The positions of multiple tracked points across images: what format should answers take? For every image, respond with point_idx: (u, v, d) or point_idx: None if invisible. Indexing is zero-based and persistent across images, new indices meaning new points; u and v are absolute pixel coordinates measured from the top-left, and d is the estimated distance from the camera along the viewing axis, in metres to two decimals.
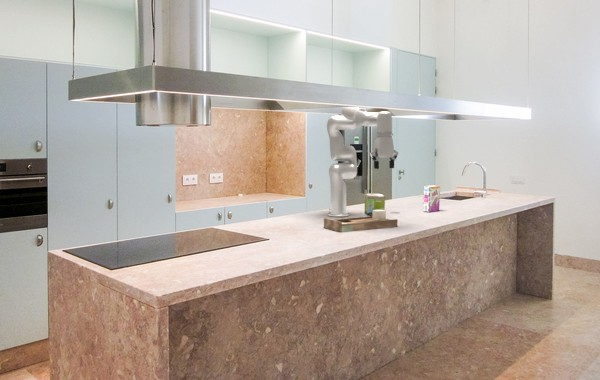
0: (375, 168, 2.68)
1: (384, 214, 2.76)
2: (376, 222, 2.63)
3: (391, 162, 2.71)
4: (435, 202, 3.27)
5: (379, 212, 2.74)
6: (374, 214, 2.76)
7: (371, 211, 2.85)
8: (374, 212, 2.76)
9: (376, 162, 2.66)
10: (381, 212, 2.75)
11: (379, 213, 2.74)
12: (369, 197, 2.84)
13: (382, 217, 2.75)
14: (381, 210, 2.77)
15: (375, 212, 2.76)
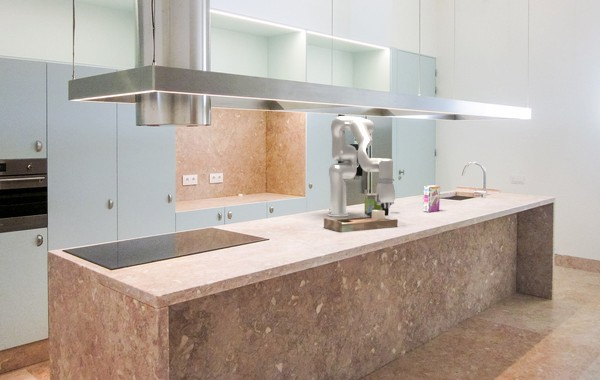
0: None
1: (383, 214, 2.75)
2: (376, 222, 2.63)
3: None
4: (435, 202, 3.27)
5: (378, 212, 2.74)
6: (374, 214, 2.76)
7: (371, 211, 2.85)
8: (373, 212, 2.76)
9: (384, 209, 2.77)
10: (380, 212, 2.74)
11: (378, 213, 2.74)
12: (369, 197, 2.84)
13: (381, 217, 2.75)
14: (380, 210, 2.76)
15: (374, 212, 2.75)
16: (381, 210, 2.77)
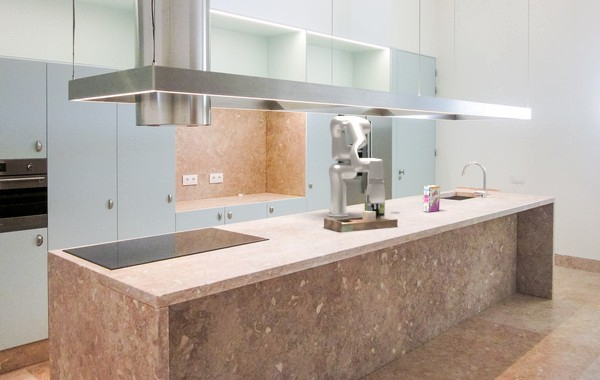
0: None
1: (374, 215, 2.72)
2: (376, 222, 2.63)
3: None
4: (435, 202, 3.27)
5: (369, 213, 2.70)
6: (364, 215, 2.72)
7: None
8: (364, 213, 2.73)
9: (375, 210, 2.75)
10: (371, 213, 2.71)
11: (369, 214, 2.70)
12: None
13: (372, 218, 2.72)
14: (371, 211, 2.73)
15: (365, 213, 2.72)
16: (372, 211, 2.73)
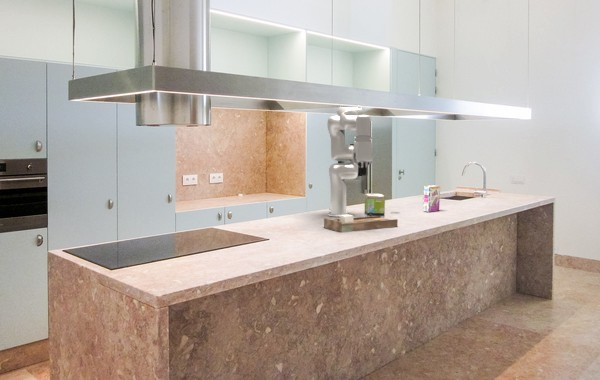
0: None
1: (352, 219, 2.57)
2: (376, 222, 2.63)
3: None
4: (435, 202, 3.27)
5: (346, 217, 2.55)
6: (341, 219, 2.58)
7: (371, 211, 2.85)
8: (341, 217, 2.58)
9: (362, 169, 2.64)
10: (348, 217, 2.56)
11: (346, 218, 2.56)
12: (369, 197, 2.84)
13: (350, 222, 2.57)
14: (349, 215, 2.58)
15: (342, 217, 2.57)
16: (349, 215, 2.58)
